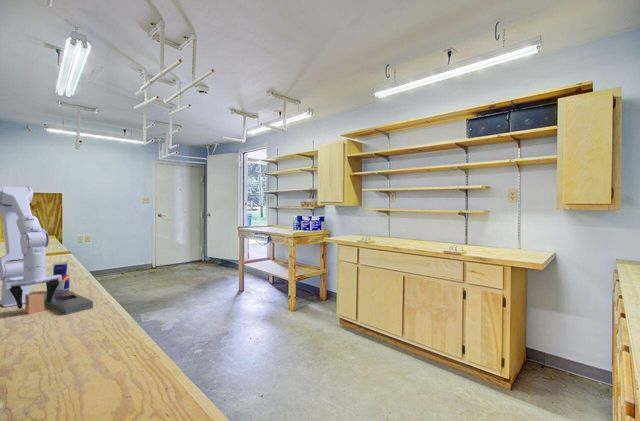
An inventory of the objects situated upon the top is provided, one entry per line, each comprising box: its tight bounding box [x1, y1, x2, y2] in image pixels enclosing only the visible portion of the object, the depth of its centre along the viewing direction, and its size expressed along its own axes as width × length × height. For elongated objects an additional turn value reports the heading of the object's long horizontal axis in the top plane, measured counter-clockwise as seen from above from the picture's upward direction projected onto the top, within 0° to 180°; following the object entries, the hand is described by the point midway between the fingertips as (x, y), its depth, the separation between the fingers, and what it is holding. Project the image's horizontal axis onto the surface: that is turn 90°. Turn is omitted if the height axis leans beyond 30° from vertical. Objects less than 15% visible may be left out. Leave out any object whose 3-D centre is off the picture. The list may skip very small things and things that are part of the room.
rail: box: [43, 289, 94, 315], centre depth 114 cm, size 24×8×2 cm, turn 57°
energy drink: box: [52, 261, 70, 292], centre depth 131 cm, size 5×5×12 cm
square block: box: [24, 291, 45, 315], centre depth 107 cm, size 4×4×6 cm
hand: (34, 304), depth 107 cm, fingers open, 7 cm apart
